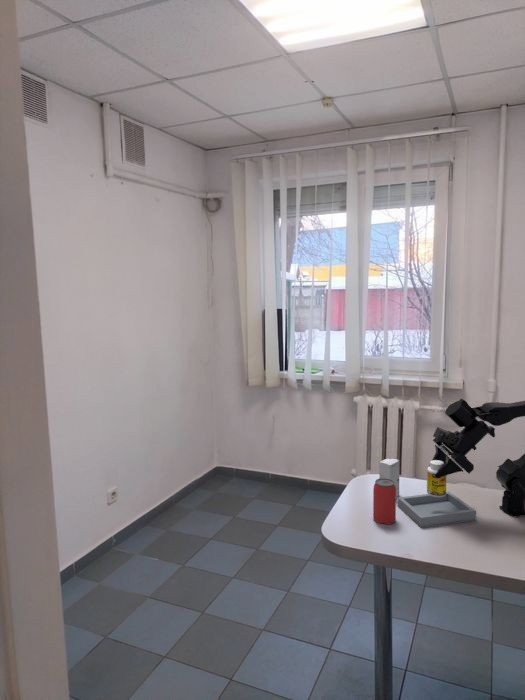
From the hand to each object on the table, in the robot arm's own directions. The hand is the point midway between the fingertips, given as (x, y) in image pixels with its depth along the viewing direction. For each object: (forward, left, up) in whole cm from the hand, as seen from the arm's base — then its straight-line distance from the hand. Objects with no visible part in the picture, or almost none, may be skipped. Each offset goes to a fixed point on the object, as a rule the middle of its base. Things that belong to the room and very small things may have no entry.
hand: (432, 473), depth 148 cm
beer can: (+16, 0, -13) cm, 21 cm away
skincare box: (+7, -15, -13) cm, 21 cm away
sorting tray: (-1, 0, -13) cm, 13 cm away
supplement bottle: (-1, 0, -7) cm, 7 cm away
